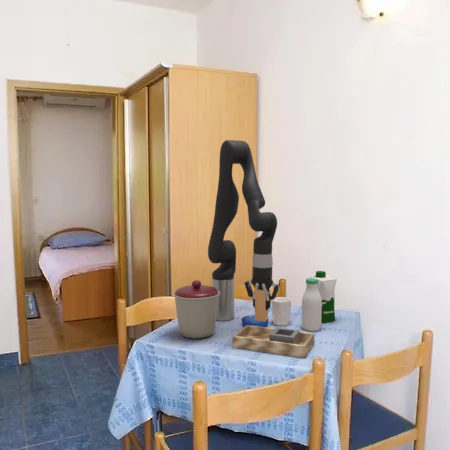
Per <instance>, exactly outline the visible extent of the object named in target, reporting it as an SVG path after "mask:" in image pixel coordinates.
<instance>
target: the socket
mask: <svg viewBox="0 0 450 450" xmlns="http://www.w3.org/2000/svg"><path fill="white" fill-rule="evenodd" d="M300 332H301V330H300V329H296V328H295V329H293V328H285V327H284V328H283V327H279V326H278V327H276V328H274V330H273V331H272V332H271V333H270V334H269V341H276V342H283V343H291V344H298V345H299V344H300Z"/></svg>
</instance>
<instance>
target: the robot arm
mask: <svg viewBox="0 0 450 450" xmlns="http://www.w3.org/2000/svg"><path fill="white" fill-rule="evenodd" d="M233 165H240V166H241V169H242V171H243V178H242V184H241V193H242V195H243V198H244V201H245V204H246V206H247V214H248V217H247V218H248V225H249V227H250V228H251V229H252V230H253V231H254V232H257V233H259V232H262V233H261V235H260V236H257V237H256V238H253V239H254V240H253V250H252V251H253V254H252V273H251V274H252V278H251V280H246V281H245V282H244V286H245V290H246V293H247V296H248V297H249V298H252V306H253V308H254V309H255V290H258V289H259V290H264V291H265V295H266V310H268V311H269V309H271V305H272V300H273V299H274V298H276V297H277V295H278V292H279V290H280V287H281V285H280V284H279V283H275V282H274V280H273V265H274V263H273V260H274V259H273V241H274V238H275V235H276V231H277V226H278V218H277V216H276V214H275V213H274V212H272V211H264V212H263V211H262V212H261V211H260V209H263V208H264V207H265V206H266V200H265V197H264V195H263V192H262V190H261V187H260V184H259V181H258V178H257V172H256V169H255V167H256V166H255V163H254V159H253V155H252V150H251V148H250V145H249V143H248V142H246V141H244V140H238V139H237V140H234V139H226V140H224V141H223V142H222V144H221V146H220V152H219V169H218V172H219V173H218V181H217V182H218V184H217V191H216V192H217V193H216V198H215V208H214V216H213V223H212V229H211V234H210V238H209V243H208V248H207V257H208V261H210V263H211V264H219V266H218V267H217V268H216V269H214V270H213V271H212V274H211V278H212V279H211V280H212V284H211V285H212V286H211V287H214V288H216V289H217V290H219V291H220V295H219V297H218V308H217V317H216V321H222V322H223V321H232V320H233V319H235V273H236V266H237V248H236V245H235V243H234V241H232V240H229V239H228V240H227V239H226V240H225V236H226V231H227V230H228V228H229V227H230V225H231V224H232V223H233V221H234V219H235V218H236V215H237V213H238V208H239V201H240V194H239V192H238V189H237V186H236V184H235V181H234V179H233V167H234V166H233ZM252 286H253V287H254V289H253V288H252ZM271 287H272V289H273V290H272V293H271ZM267 291H268V292H267Z"/></svg>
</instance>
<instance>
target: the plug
mask: <svg viewBox="0 0 450 450" xmlns="http://www.w3.org/2000/svg"><path fill="white" fill-rule="evenodd" d="M267 292H268V291H267ZM268 319H269V309H268V310H266V295H265V291H264V290H259V289H258V290H255V308H254V321H257V322H264V323H265V322H266V321H268Z"/></svg>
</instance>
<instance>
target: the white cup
mask: <svg viewBox="0 0 450 450" xmlns="http://www.w3.org/2000/svg"><path fill="white" fill-rule="evenodd" d="M291 307H292V299H291V298H289V297H284V296H279V297H278V296H276V298H274V299H273V300H271V311H272V313H271V314H272V324H274V325H275V326H278V327H279V326H280V327H281V326H282V327H283V326H288V325H289V324H290V318H291V310H292V309H291Z"/></svg>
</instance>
